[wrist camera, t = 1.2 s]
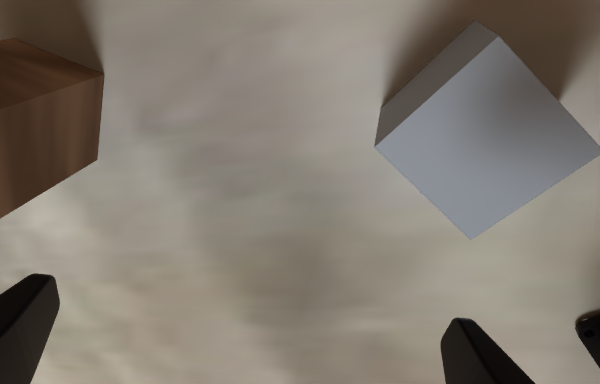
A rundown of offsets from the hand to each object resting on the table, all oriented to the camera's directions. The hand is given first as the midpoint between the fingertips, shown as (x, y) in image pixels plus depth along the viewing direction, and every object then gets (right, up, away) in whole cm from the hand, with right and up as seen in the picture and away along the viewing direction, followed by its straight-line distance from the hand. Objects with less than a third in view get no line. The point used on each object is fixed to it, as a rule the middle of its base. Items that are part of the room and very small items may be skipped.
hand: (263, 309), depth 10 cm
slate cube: (+8, +6, +9) cm, 13 cm away
